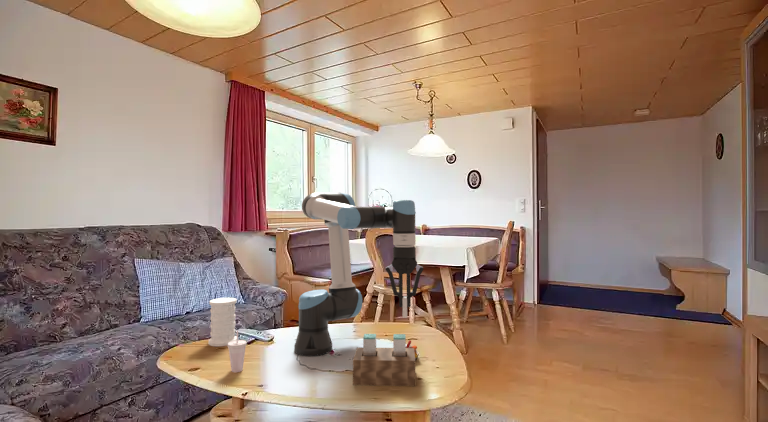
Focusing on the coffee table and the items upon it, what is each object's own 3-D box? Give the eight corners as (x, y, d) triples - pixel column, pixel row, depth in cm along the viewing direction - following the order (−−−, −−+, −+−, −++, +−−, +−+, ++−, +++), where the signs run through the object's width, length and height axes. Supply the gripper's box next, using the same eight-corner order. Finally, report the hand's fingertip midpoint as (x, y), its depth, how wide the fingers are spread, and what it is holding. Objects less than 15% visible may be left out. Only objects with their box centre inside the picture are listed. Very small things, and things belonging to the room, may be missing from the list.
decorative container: (231, 346, 163) (231, 303, 164) (203, 346, 164) (203, 303, 164) (241, 337, 175) (241, 297, 175) (215, 337, 175) (215, 297, 175)
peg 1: (363, 361, 130) (363, 337, 130) (364, 357, 134) (364, 333, 134) (375, 361, 129) (375, 337, 130) (376, 357, 133) (376, 333, 134)
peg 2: (393, 362, 129) (393, 337, 129) (393, 357, 133) (393, 334, 133) (405, 362, 129) (405, 337, 129) (405, 357, 133) (405, 334, 133)
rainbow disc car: (416, 364, 144) (416, 344, 144) (390, 362, 146) (390, 342, 146) (418, 356, 152) (418, 337, 152) (394, 354, 154) (394, 335, 154)
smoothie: (228, 375, 134) (228, 334, 134) (226, 368, 140) (226, 329, 140) (248, 371, 137) (248, 331, 137) (245, 365, 142) (245, 326, 143)
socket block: (352, 385, 126) (352, 360, 126) (357, 370, 138) (356, 347, 138) (415, 386, 125) (415, 360, 125) (414, 371, 137) (414, 348, 137)
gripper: (384, 247, 128) (385, 319, 128) (424, 246, 128) (425, 319, 127) (385, 245, 136) (385, 314, 135) (423, 245, 135) (423, 314, 135)
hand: (404, 316), depth 131 cm, fingers closed
